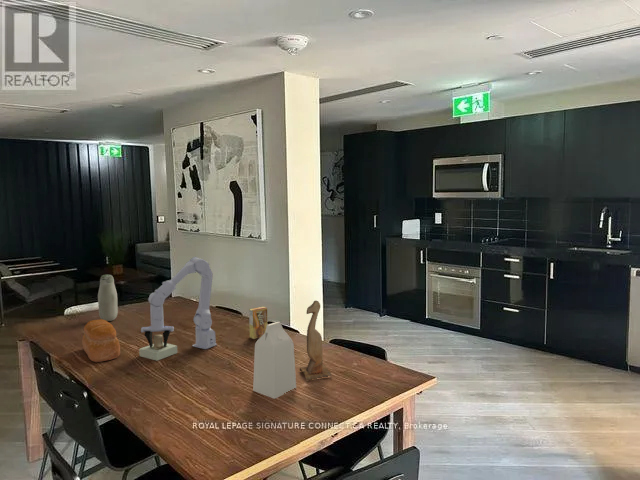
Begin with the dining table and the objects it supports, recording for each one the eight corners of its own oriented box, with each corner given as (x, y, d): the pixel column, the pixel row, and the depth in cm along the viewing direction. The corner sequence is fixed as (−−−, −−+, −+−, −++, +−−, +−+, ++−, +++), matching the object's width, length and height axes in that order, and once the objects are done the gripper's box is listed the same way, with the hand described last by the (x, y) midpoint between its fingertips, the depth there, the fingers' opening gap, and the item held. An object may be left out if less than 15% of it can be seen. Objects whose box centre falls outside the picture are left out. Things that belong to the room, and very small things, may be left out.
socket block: (177, 352, 221) (177, 345, 221) (156, 360, 211) (156, 353, 211) (160, 348, 228) (160, 341, 227) (139, 356, 217) (139, 348, 217)
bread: (90, 364, 207) (88, 331, 206) (81, 349, 228) (79, 318, 227) (122, 358, 215) (121, 326, 213) (110, 343, 236) (108, 314, 235)
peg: (164, 352, 222) (163, 334, 221) (162, 355, 218) (161, 336, 217) (155, 353, 221) (154, 334, 220) (153, 356, 217) (152, 337, 217)
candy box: (263, 334, 250) (263, 306, 248) (268, 336, 247) (267, 307, 245) (249, 337, 244) (248, 308, 243) (253, 339, 241) (252, 310, 239)
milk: (275, 380, 188) (274, 317, 185) (296, 388, 180) (295, 322, 178) (253, 390, 178) (251, 324, 176) (274, 398, 171) (273, 329, 169)
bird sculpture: (297, 372, 197) (294, 299, 193) (323, 368, 201) (321, 295, 197) (306, 383, 186) (303, 305, 182) (333, 378, 190) (331, 301, 186)
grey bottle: (95, 322, 275) (93, 275, 273) (108, 317, 285) (105, 272, 282) (109, 323, 273) (107, 276, 270) (121, 319, 282) (119, 273, 279)
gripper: (174, 315, 222) (175, 343, 224) (143, 316, 221) (145, 344, 222) (171, 319, 215) (172, 348, 217) (139, 320, 214) (140, 349, 215)
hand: (158, 346), depth 219 cm, fingers open, 6 cm apart
